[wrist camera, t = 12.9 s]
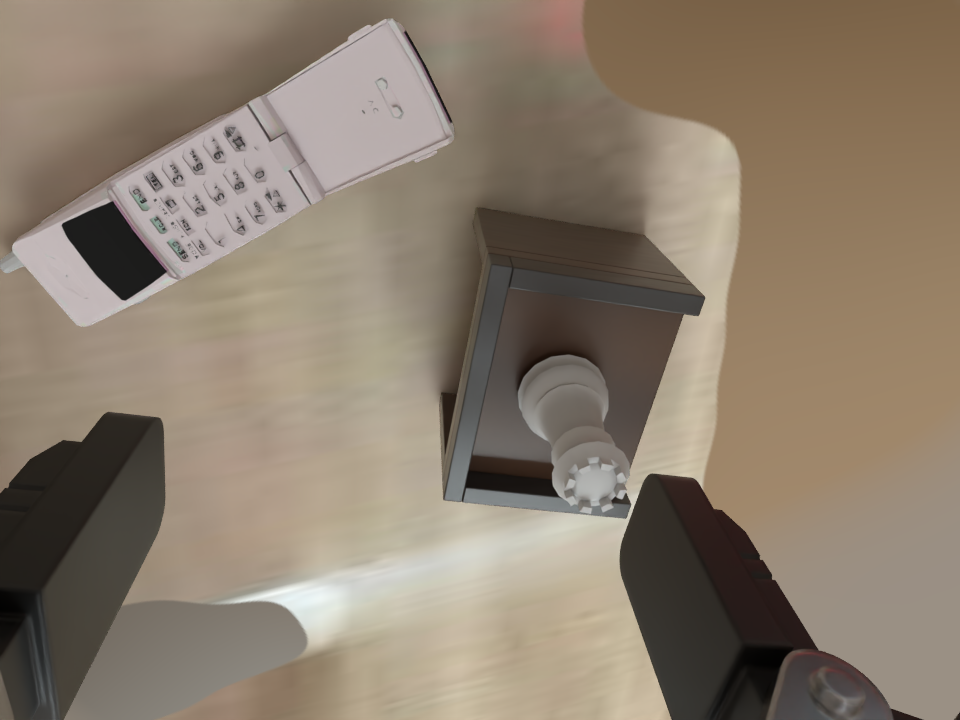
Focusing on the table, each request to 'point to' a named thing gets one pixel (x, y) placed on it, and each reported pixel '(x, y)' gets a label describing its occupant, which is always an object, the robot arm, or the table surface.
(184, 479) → the table surface
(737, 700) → the robot arm
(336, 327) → the table surface
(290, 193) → the mobile phone
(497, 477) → the tray
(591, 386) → the rook chess piece
